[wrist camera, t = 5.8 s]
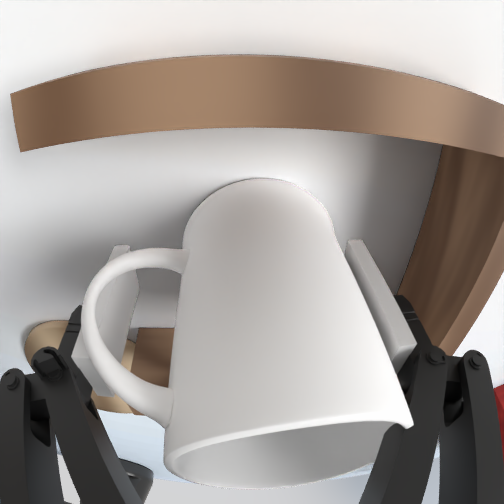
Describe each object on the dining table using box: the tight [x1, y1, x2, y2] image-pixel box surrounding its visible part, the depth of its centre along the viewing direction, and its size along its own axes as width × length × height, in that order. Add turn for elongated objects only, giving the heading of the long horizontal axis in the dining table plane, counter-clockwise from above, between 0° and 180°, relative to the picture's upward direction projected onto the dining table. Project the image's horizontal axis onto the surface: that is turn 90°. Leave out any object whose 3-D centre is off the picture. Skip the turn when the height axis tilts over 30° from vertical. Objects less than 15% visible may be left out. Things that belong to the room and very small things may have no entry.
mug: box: [81, 178, 414, 490], centre depth 13 cm, size 12×8×12 cm
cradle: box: [10, 54, 504, 416], centre depth 15 cm, size 20×19×6 cm
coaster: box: [25, 321, 136, 413], centre depth 24 cm, size 14×14×1 cm
